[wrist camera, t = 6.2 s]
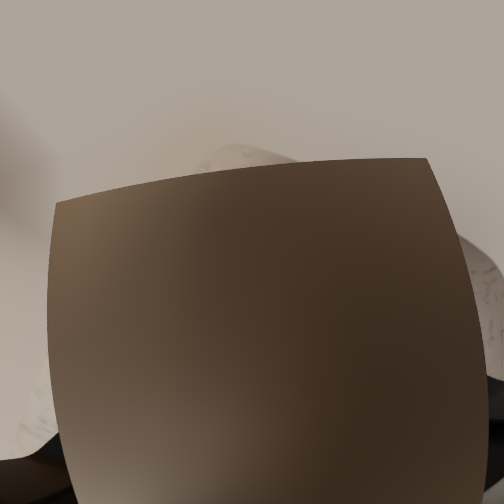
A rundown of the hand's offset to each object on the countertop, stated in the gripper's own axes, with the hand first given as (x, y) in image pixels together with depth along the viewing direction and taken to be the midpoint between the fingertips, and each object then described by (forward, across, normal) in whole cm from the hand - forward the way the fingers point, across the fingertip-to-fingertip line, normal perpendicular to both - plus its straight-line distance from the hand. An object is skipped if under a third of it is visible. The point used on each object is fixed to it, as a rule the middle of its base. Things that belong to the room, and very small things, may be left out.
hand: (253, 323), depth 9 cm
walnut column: (+4, 0, +6) cm, 7 cm away
